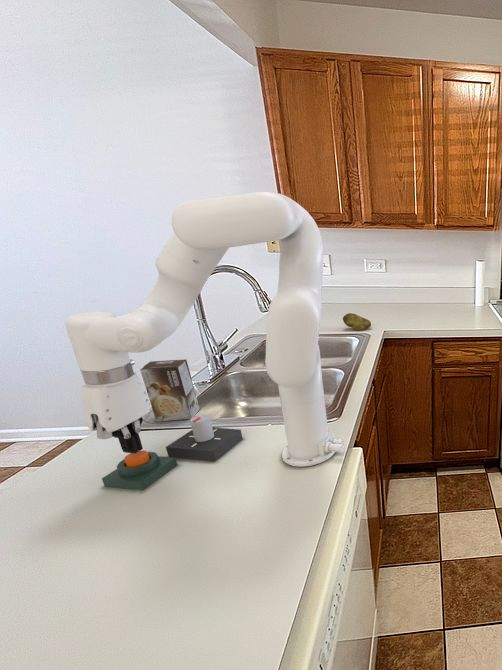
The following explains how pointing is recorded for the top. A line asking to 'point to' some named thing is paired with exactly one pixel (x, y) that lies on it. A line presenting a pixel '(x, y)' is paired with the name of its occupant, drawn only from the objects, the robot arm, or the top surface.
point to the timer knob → (202, 428)
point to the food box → (170, 390)
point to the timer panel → (205, 445)
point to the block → (139, 473)
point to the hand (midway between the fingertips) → (133, 450)
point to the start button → (136, 458)
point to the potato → (356, 321)
